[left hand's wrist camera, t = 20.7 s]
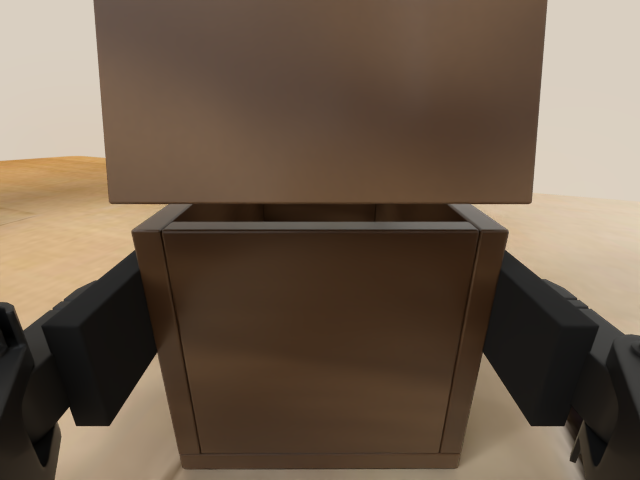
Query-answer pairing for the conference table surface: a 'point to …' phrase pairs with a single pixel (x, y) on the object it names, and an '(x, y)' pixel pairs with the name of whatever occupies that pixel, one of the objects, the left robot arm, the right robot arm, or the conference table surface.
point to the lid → (320, 100)
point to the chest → (319, 330)
